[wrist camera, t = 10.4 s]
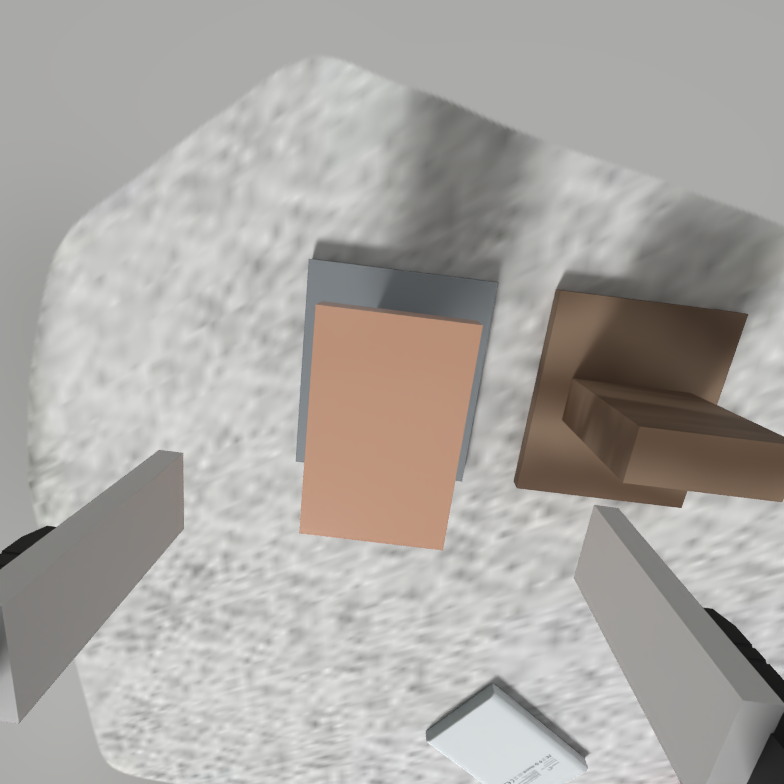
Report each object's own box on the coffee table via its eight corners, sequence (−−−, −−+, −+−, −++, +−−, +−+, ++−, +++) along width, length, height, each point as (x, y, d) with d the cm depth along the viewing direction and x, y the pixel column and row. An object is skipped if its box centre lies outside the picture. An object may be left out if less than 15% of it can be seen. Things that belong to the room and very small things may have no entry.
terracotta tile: (477, 320, 20) (482, 325, 19) (440, 532, 23) (442, 550, 22) (321, 301, 20) (315, 304, 19) (305, 516, 23) (299, 533, 22)
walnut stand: (673, 500, 34) (781, 597, 24) (513, 481, 33) (557, 571, 24) (737, 312, 30) (896, 338, 20) (555, 289, 29) (629, 304, 20)
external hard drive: (491, 677, 39) (583, 752, 42) (425, 725, 41) (515, 795, 44) (495, 694, 38) (590, 771, 40) (425, 744, 40) (520, 815, 42)
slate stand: (460, 474, 33) (482, 562, 24) (298, 455, 33) (256, 535, 24) (495, 281, 29) (539, 293, 20) (311, 258, 29) (267, 259, 20)
